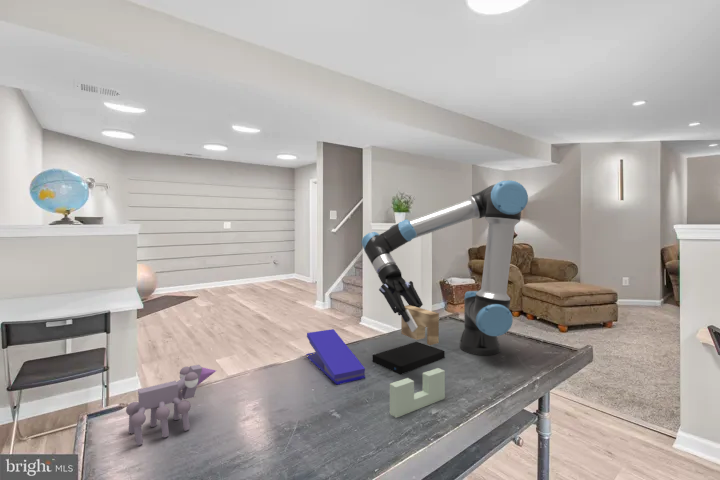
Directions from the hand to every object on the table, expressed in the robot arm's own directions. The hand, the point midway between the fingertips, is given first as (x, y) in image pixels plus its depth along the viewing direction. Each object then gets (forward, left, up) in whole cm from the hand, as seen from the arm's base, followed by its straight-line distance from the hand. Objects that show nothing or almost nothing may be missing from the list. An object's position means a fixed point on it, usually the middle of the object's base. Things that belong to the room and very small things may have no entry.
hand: (420, 328), depth 110 cm
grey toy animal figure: (+66, -17, -17) cm, 71 cm away
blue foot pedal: (+16, -27, -18) cm, 36 cm away
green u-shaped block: (+10, +10, -17) cm, 22 cm away
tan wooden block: (0, 0, -3) cm, 3 cm away
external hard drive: (-10, -16, -18) cm, 26 cm away
